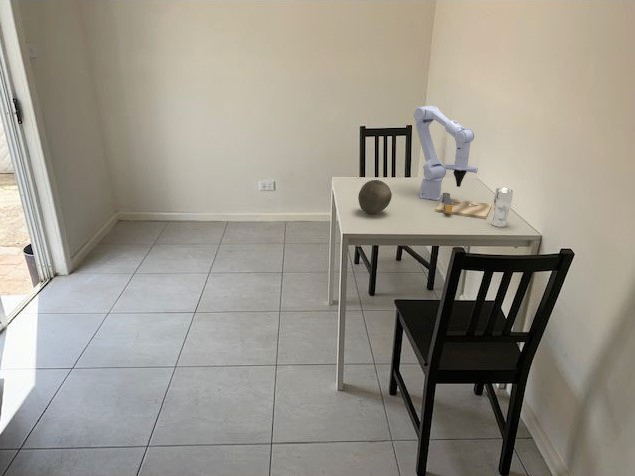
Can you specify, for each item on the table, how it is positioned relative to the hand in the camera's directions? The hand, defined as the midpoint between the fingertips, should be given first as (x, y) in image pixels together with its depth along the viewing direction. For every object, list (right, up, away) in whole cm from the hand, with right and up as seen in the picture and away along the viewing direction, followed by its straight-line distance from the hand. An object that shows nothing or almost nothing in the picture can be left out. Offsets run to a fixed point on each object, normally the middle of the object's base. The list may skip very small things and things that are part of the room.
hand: (458, 186), depth 216 cm
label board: (+2, -11, -1) cm, 11 cm away
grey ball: (-40, -13, -5) cm, 42 cm away
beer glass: (+11, -18, -18) cm, 28 cm away
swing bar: (-6, -9, -2) cm, 11 cm away
